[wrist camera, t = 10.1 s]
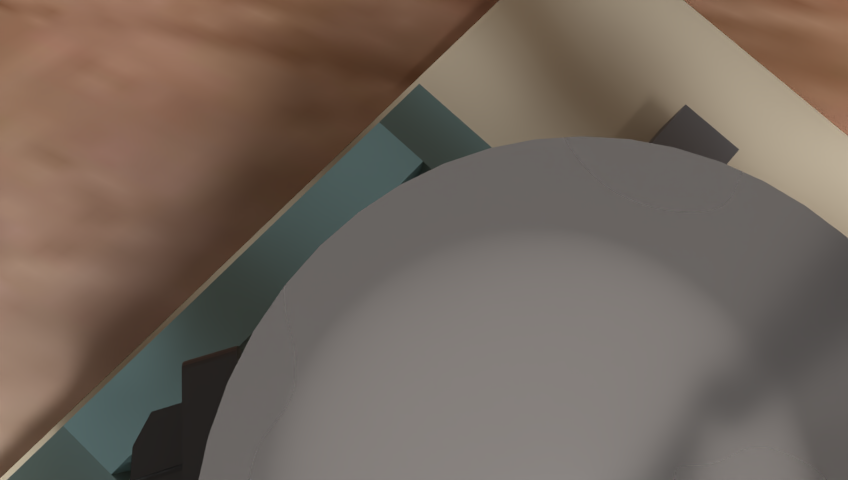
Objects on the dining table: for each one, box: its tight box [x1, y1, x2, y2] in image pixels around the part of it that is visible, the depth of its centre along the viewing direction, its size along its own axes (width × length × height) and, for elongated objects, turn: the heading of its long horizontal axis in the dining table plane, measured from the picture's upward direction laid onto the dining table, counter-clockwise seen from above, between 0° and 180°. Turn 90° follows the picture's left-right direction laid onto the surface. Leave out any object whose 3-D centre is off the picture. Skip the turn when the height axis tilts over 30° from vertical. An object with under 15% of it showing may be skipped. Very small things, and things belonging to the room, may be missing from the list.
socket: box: [199, 136, 848, 480], centre depth 9 cm, size 5×5×10 cm
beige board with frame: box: [0, 0, 848, 480], centre depth 16 cm, size 20×12×4 cm, turn 138°
